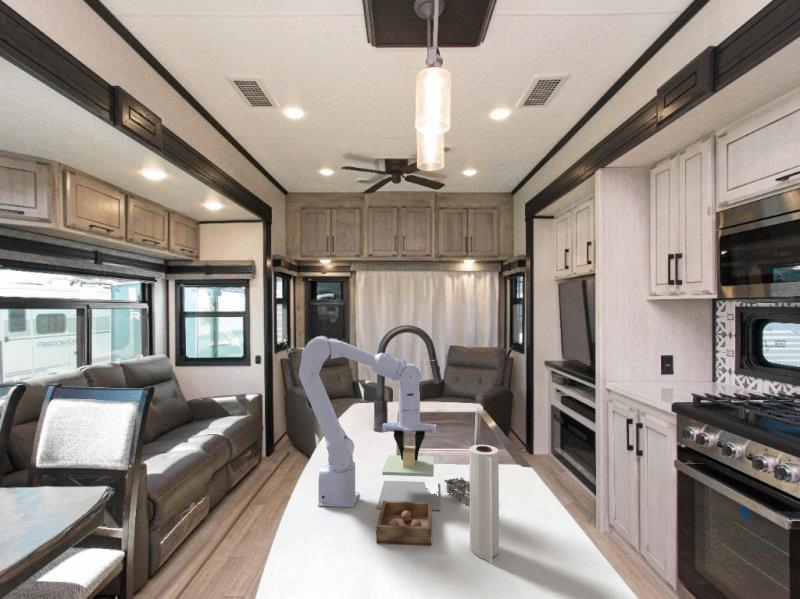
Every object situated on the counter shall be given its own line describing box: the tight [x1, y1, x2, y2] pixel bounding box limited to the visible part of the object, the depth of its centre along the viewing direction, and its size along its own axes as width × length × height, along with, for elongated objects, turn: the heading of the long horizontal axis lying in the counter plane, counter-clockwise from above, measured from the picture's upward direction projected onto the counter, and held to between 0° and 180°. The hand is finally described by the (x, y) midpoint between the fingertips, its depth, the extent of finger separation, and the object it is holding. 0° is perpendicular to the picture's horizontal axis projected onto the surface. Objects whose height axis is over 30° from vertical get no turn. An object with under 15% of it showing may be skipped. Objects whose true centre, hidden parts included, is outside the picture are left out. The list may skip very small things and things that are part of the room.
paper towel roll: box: [469, 444, 500, 564], centre depth 86 cm, size 7×6×21 cm
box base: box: [375, 501, 433, 547], centre depth 94 cm, size 12×12×4 cm
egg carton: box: [444, 477, 470, 506], centre depth 111 cm, size 11×8×4 cm
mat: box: [376, 480, 441, 510], centre depth 111 cm, size 16×16×1 cm
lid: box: [381, 445, 435, 478], centre depth 110 cm, size 13×13×5 cm
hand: (409, 458), depth 110 cm, fingers closed on lid, 3 cm apart
